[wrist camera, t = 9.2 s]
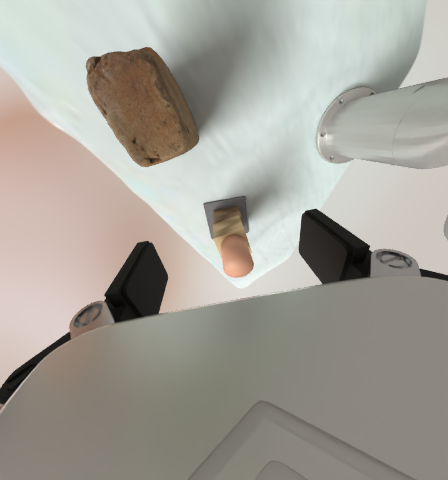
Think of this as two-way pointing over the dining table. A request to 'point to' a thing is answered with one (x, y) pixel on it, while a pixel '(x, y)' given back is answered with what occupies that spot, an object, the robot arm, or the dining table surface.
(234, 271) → the peach egg-shaped pebble
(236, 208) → the block
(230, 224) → the tower top
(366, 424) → the robot arm
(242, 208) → the mat
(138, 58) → the block
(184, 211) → the dining table surface
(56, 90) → the dining table surface
